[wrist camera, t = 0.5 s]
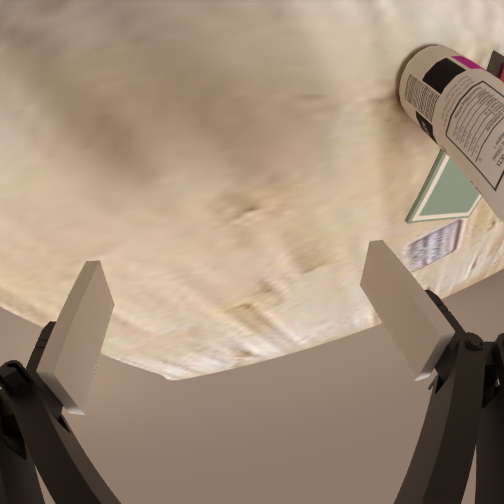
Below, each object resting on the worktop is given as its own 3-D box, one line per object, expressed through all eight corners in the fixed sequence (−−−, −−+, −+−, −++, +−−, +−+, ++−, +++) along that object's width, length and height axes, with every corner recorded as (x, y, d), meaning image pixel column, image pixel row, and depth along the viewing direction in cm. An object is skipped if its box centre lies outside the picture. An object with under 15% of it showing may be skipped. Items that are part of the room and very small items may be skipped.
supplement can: (456, 35, 17) (591, 135, 8) (461, 106, 23) (560, 212, 14) (387, 53, 19) (529, 173, 10) (401, 129, 25) (498, 254, 16)
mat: (447, 134, 26) (451, 137, 26) (507, 146, 28) (510, 149, 28) (405, 220, 37) (407, 223, 36) (467, 214, 39) (469, 217, 39)
